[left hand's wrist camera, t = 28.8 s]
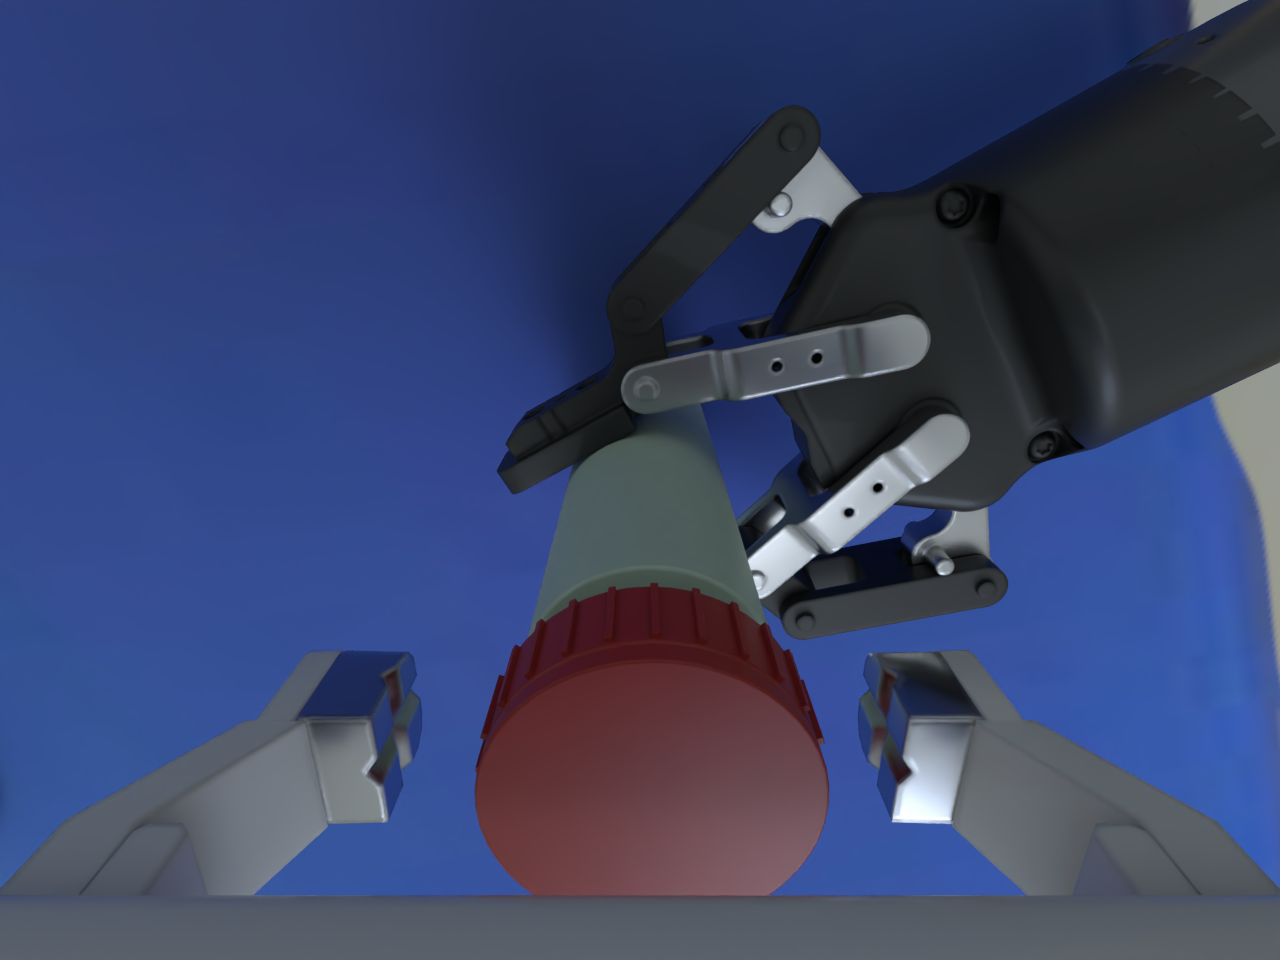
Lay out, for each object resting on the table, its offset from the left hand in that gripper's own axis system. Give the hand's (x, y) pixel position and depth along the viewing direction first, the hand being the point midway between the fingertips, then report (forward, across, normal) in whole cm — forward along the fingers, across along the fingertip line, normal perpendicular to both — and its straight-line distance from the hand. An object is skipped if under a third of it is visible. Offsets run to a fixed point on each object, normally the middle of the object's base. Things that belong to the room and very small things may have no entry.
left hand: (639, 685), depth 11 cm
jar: (+15, 0, 0) cm, 15 cm away
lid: (-2, 0, 0) cm, 2 cm away
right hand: (+8, -2, -2) cm, 9 cm away
